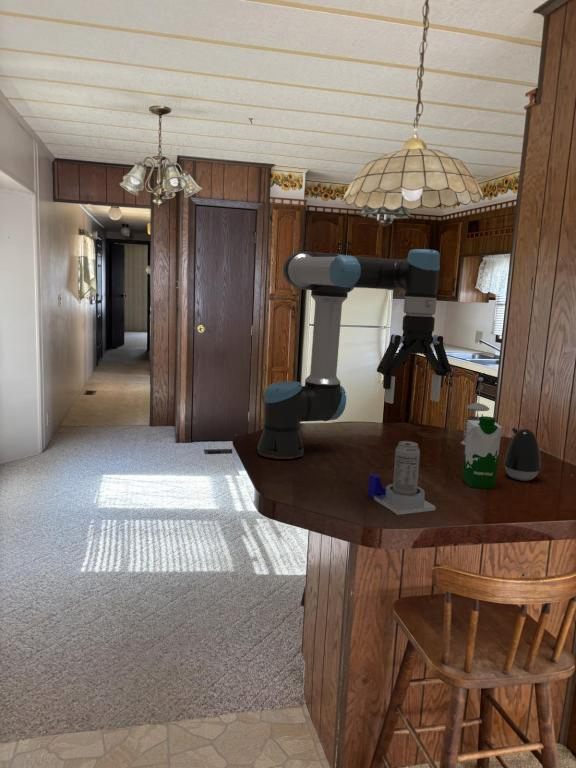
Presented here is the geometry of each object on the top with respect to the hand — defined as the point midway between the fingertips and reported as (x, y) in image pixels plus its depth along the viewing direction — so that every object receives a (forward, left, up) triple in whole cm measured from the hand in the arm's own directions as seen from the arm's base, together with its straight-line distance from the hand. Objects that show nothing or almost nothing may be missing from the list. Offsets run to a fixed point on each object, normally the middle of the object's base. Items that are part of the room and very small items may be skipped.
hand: (412, 401), depth 142 cm
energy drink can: (0, 0, -26) cm, 26 cm away
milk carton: (-8, +31, -27) cm, 42 cm away
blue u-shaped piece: (-8, 0, -27) cm, 28 cm away
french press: (-45, +62, -27) cm, 81 cm away
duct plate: (0, 0, -27) cm, 27 cm away
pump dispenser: (-9, +48, -27) cm, 56 cm away
